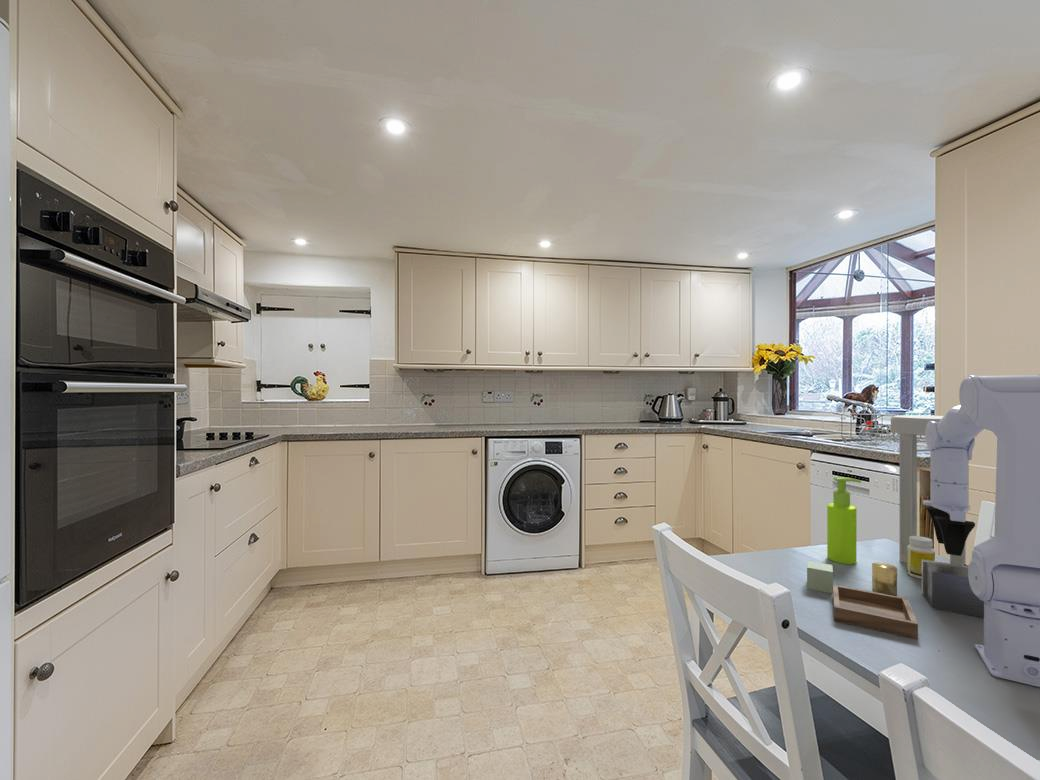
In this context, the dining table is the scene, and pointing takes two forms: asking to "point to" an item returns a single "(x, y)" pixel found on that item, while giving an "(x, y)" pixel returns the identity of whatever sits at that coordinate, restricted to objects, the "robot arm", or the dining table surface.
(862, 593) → the walnut tray
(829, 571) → the sage block
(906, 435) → the stool
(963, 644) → the dining table surface
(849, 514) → the soap dispenser
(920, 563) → the supplement bottle
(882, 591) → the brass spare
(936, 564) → the block
